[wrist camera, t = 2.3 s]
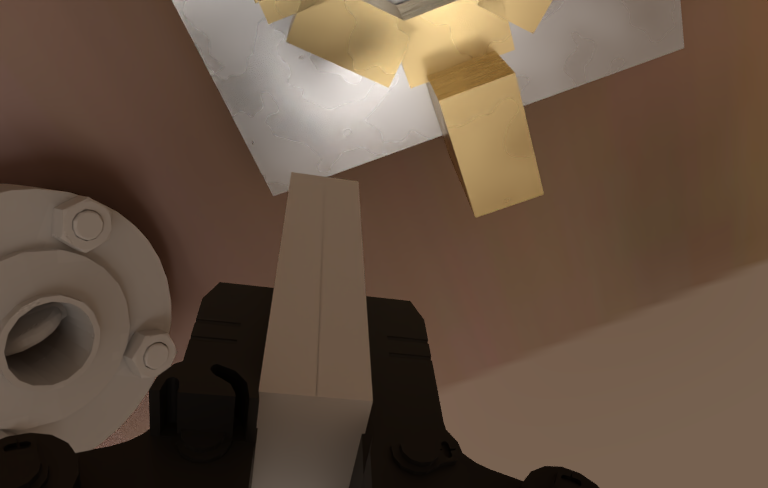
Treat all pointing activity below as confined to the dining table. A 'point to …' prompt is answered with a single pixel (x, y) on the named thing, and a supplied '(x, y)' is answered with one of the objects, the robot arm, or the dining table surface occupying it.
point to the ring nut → (439, 75)
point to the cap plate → (395, 79)
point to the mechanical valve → (76, 316)
